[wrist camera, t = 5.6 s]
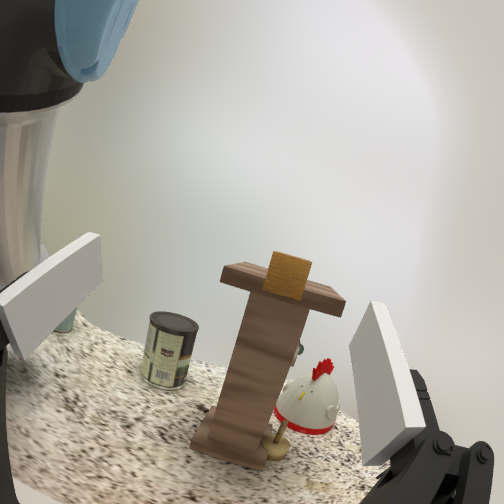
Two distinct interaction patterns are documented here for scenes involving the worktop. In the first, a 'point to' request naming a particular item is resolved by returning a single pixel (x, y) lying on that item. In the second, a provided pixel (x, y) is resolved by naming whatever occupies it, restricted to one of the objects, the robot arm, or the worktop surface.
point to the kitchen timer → (310, 401)
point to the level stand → (259, 369)
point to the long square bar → (287, 275)
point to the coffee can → (168, 350)
